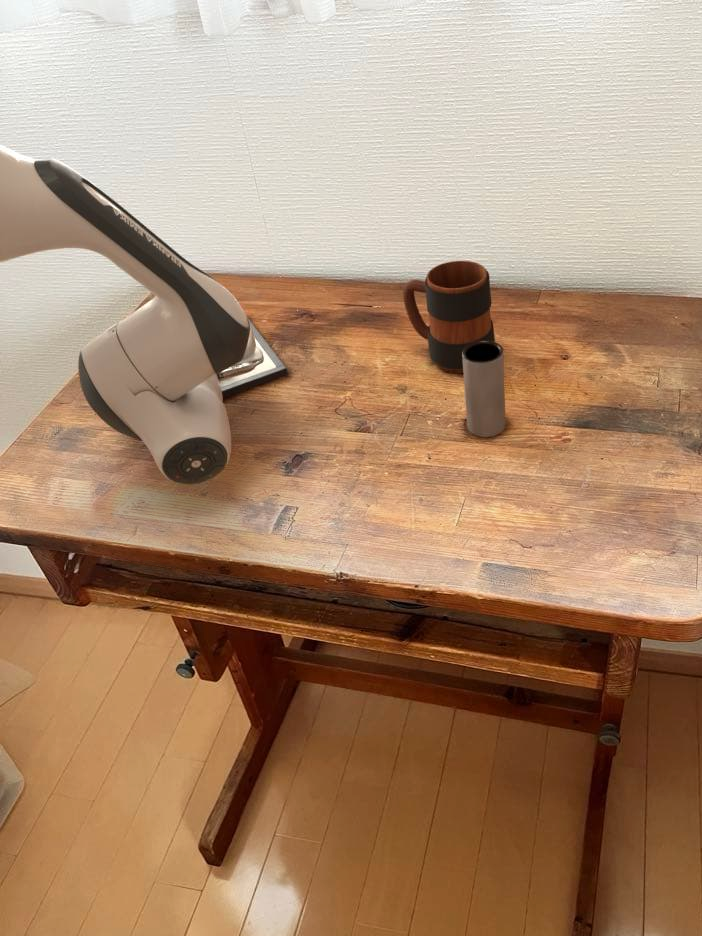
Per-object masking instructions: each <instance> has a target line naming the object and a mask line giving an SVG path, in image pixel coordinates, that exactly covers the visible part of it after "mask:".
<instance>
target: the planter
mask: <svg viewBox="0 0 702 936" xmlns="http://www.w3.org/2000/svg"><path fill="white" fill-rule="evenodd" d="M504 357H505V356H504V348H503V347H502V345H501V344H499V343H497V342H496V341H495V342H493V341H486V340H483V341H476V342H473V343H470V344H469V345H467V346H466V347H465V348H464V349H463V351H462V361H463V387H464V400H465V415H466V426H467V430H468V431H469V433H470V434H472V435H474V436H476V437H479V438H490V437H492V438H493V437H494V436H498V435H499V434H500V433H502V432H503V431H504V430H505V429H506V395H505V393H506V392H505V390H506V389H505V364H504V363H505V362H504V361H505V360H504Z"/></svg>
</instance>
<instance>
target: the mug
mask: <svg viewBox="0 0 702 936" xmlns="http://www.w3.org/2000/svg"><path fill="white" fill-rule="evenodd" d="M424 280H425V281H424ZM424 280H421V279H420V280H419V279H411V280H409V281H408V282H407V283H406V284H405V286H404V287H403V291H402V298H403V303H404V308H405V311H406V314H407V316H408V319H409V321H410V323H411V325H412V327H413V329H414V330H415V332H416V334H418V335H419V336H420V337H422V338H423V339H425V340H427V345H428V352H429V358H430V359H431V361H432V362H433V363H434V364H435V365H436V366H437V367H438V368H439V369H441V370H443V371H445V372H449V373H457V374H461V373H463V361H462V351H463V349H464V348H465V347H466V346H467V345H469V344H470V343H473V342H476V341H483V340H486V341H493V342H496V337H495V329H494V323H493V320H492V318H491V307H492V293H491V280H490V273H489V271H488V270H487V268H485V266H484V265H482V264H480V263H478V262H474V261H471V260H452V261H448V262H443V263H441V264H438V265H436V266H434V267H432V268H431V269H430V270H429V271H428V272H427V275H426V277H425V279H424ZM415 292H417V293H423V294H425V299H426V310H427V312H428V320H429V321H428V322H429V325H427V323H426V322H425V321H424V319H423V317H422V315H421V313H420V311H419V310H420V309H419V308H418V304H417V302H416V301H417V300H416V297H415Z"/></svg>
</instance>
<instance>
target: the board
mask: <svg viewBox="0 0 702 936" xmlns="http://www.w3.org/2000/svg"><path fill="white" fill-rule="evenodd" d="M246 317H247V319H248V321H249V323H250V324H251V327H252V331H253V334H254V338H255V342H256V346H257V347H258V348H260V349H261V351H262V353H263V356H264V361H263V363H261V364H259V365H258V366H256V367H255V368H254V370H252V371H251V372H248V373H246V374H243V375H239V376H235V377H231V378H227V379H223V380H220V381H219V383H220V387H221V391H222V397H223V399H224V398H226V397H229V396H232V395H234V394H237V393H240V392H242V391H245V390H248V389H250V388H251V389H252V388H254V387H257V386H260V385H262V384H265V383H268V382H270V381H274V380H276V379H278V378H281V377H284V376H286V375H288V374H289V372H288V368H287V366H286V365H285V364H284V363H283V362H282V360H281V359H280V358H279V356H278V355H277V353H275V351H274V350H273V349H272V347H271V346H270V345H269V343H268V342H267V341H266V339H265V338H264V337H263V336H262V334H261V333H260V332H259V330H258V329H257V328H256V326H255V325H254V323H252V320H251V319H250V318H249V317H248V316H247V315H246Z"/></svg>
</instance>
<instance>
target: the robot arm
mask: <svg viewBox="0 0 702 936" xmlns="http://www.w3.org/2000/svg"><path fill="white" fill-rule="evenodd" d="M61 249H62V250H63V249H81V250H87V251H91V252H94V253H97V254H99V255H101V256H102V257H104V258H106V260H108V261H110V262H111V263H112V264H114V266H116V267H118V268H119V269H120V270H122V271H123V272H124V273H125V274H126V275H128V276H129V277H131V278H132V279H133V280H134V281H136V282H137V283H138V284H139V285H141V286H142V287H144V288H145V289H147V290H148V291H149V292H150V293H152V295H154V297H153V298H152V299H150V300H149V301H148V302H146V303H144V304H143V305H142V306H140V307H139V308H138V309H136V310H134V311H132V313H131V314H129V315H128V316H126V317H125V318H123V319H122V320H120V321H119V322H116V323H115V324H113V325H112V326H110V327H109V328H107V329H106V330H105V331H103V332H102V333H101V334H99V335H97V336H96V337H95V338H93V339H92V340H91V341H89V342H88V343H87V344H86V345H84V346H83V347H81V349H80V351H79V356H78V363H77V367H78V369H77V370H78V378H79V384H80V388H81V391H82V393H83V395H84V397H85V400H86V402H87V403H88V405H89V406H90V408H91V409H92V410H93V412H94V413H95V414H96V415H97V416H98V417H99V418H100V419H101V420H102V421H103V422H104V423H105V424H106V425H108V427H110V428H111V429H113V430H115V431H116V432H118V433H119V434H121V435H125V436H126V437H129V438H131V439H133V440H136V441H140V442H143V443H144V445H145V446H146V448H147V449H148V451H149V452H150V454H151V457H152V458H153V460H154V462H155V465H156V466H157V468H158V469H159V471H160V473H162V475H163V476H165V478H167V479H168V480H169V481H171V482H173V483H176V484H179V485H189V486H190V485H197V484H202V483H205V482H207V481H209V480H211V479H213V478H215V477H216V476H217V475H219V474H220V473H221V472H222V471H224V470H225V468H226V467H227V465H228V463H229V462H230V461H229V460H230V457H231V454H232V434H231V433H232V432H231V427H230V421H229V417H228V412H227V408H226V407H225V404H224V398H223V397H222V391H221V387H220V383H219V381H220V380H223V379H227V378H231V377H235V376H239V375H243V374H246V373H248V372H251V371H252V370H254V368H255V367H256V366H258V365H259V364H261V363H263V361H264V356H263V353H262V351H261V349H260V348H258V347H257V346H256V342H255V338H254V334H253V331H252V327H251V324H250V323H249V321H248V319H249V318H248V319H247V317H248V316H247V314H246V313H245V312H246V311H244V308H243V307H242V305H241V304H240V303H239V301H238V300H237V298H236V297H235V296H234V294H232V293H231V292H230V290H228V289H227V288H226V287H225V286H224V285H222V284H221V283H219V282H218V281H217V280H216V279H214V278H213V277H212V276H210V275H209V274H207V273H206V272H205V271H203V270H202V269H200V268H198V266H196V265H194V264H192V263H191V262H190V261H188V260H187V259H186V258H184V256H182V255H181V254H179V252H177V251H176V250H175V249H174V248H172V247H171V246H170V245H168V244H167V242H165V241H164V240H163V239H161V238H160V237H159V235H157V234H155V232H153V231H152V230H151V229H150V228H148V227H147V226H146V225H145V224H143V223H142V222H141V221H140V220H139V219H137V218H136V217H135V216H134V215H132V214H131V213H130V212H129V210H128V211H127V209H125V207H123V206H122V205H121V204H119V202H117V201H115V200H114V198H112V197H110V196H109V195H108V193H106V192H105V191H103V190H102V189H101V188H99V187H98V186H96V185H95V184H94V183H93V182H92V181H90V180H89V179H88V178H86V177H84V176H83V174H81V173H79V172H78V171H77V170H75V169H73V168H72V167H70V166H69V165H67V164H66V163H63V162H62V161H60V160H58V159H56V158H51V157H50V158H38V159H37V158H36V159H34V158H32V157H28V156H25V155H22V154H20V153H18V152H15V151H13V150H12V149H9V148H7V147H5V146H4V145H1V144H0V263H3V262H4V263H5V262H8V261H11V260H14V259H18V258H21V257H25V256H29V255H33V254H37V253H42V252H47V251H53V250H54V251H55V250H61ZM246 316H247V317H246Z"/></svg>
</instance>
